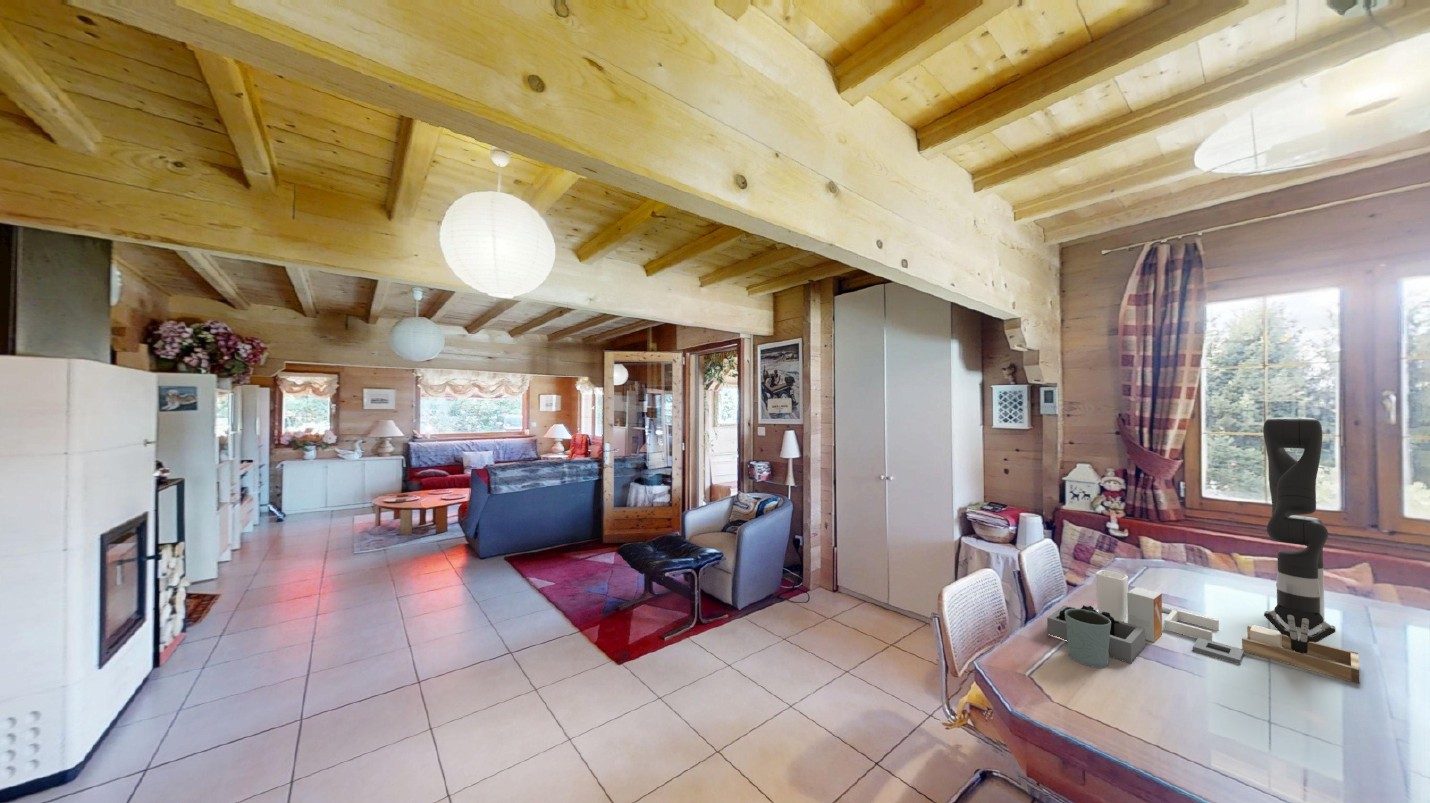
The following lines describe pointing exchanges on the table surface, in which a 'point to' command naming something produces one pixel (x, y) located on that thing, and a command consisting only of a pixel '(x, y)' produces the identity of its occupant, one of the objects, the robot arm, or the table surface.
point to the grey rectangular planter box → (1120, 646)
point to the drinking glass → (1088, 637)
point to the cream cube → (1266, 636)
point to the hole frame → (1218, 650)
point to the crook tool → (1166, 610)
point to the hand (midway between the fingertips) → (1299, 652)
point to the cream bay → (1189, 630)
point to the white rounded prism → (1112, 593)
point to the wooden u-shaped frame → (1309, 657)
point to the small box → (1145, 611)
